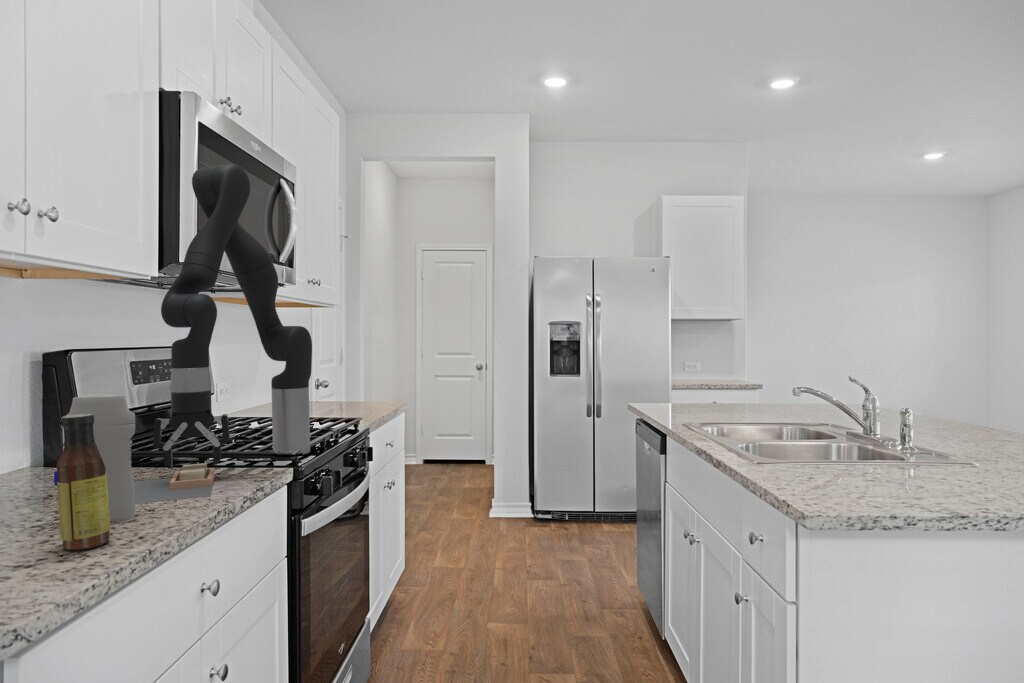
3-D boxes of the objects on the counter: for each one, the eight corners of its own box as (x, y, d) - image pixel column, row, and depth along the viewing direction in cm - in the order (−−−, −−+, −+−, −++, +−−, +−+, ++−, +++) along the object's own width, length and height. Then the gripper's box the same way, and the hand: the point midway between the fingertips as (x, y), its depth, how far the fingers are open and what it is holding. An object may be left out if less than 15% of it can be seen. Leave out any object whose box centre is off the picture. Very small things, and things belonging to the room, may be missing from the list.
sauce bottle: (119, 537, 99) (116, 411, 98) (94, 552, 92) (90, 417, 92) (76, 538, 98) (73, 412, 98) (48, 553, 92) (44, 418, 92)
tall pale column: (61, 529, 103) (57, 395, 102) (71, 522, 107) (67, 393, 106) (134, 523, 106) (130, 393, 105) (141, 516, 110) (138, 390, 109)
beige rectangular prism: (204, 485, 129) (204, 470, 129) (179, 487, 128) (179, 472, 128) (206, 476, 137) (206, 463, 137) (183, 478, 135) (183, 465, 135)
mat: (132, 483, 133) (132, 481, 133) (215, 476, 139) (215, 474, 139) (113, 508, 115) (113, 505, 115) (210, 498, 121) (210, 496, 121)
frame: (175, 478, 136) (175, 471, 136) (214, 474, 139) (214, 467, 139) (169, 490, 126) (169, 482, 126) (211, 486, 129) (211, 478, 128)
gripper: (229, 386, 138) (230, 459, 138) (155, 389, 133) (156, 465, 133) (227, 389, 131) (229, 466, 131) (149, 392, 126) (151, 473, 126)
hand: (193, 465), depth 132 cm, fingers open, 8 cm apart
